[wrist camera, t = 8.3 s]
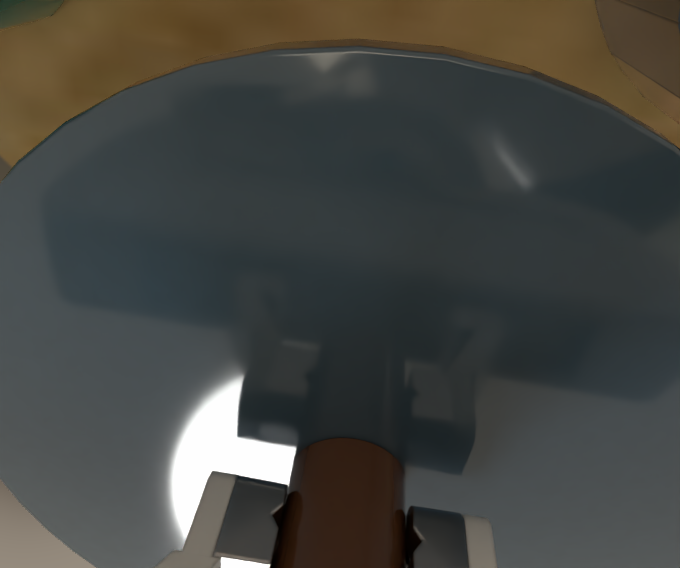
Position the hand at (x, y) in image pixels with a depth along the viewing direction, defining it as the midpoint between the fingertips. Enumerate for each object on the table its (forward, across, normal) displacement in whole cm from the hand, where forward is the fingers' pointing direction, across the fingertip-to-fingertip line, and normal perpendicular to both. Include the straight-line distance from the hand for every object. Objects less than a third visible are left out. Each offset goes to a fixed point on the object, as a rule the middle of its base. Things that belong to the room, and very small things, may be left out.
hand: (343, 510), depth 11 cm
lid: (+2, 0, 0) cm, 2 cm away
